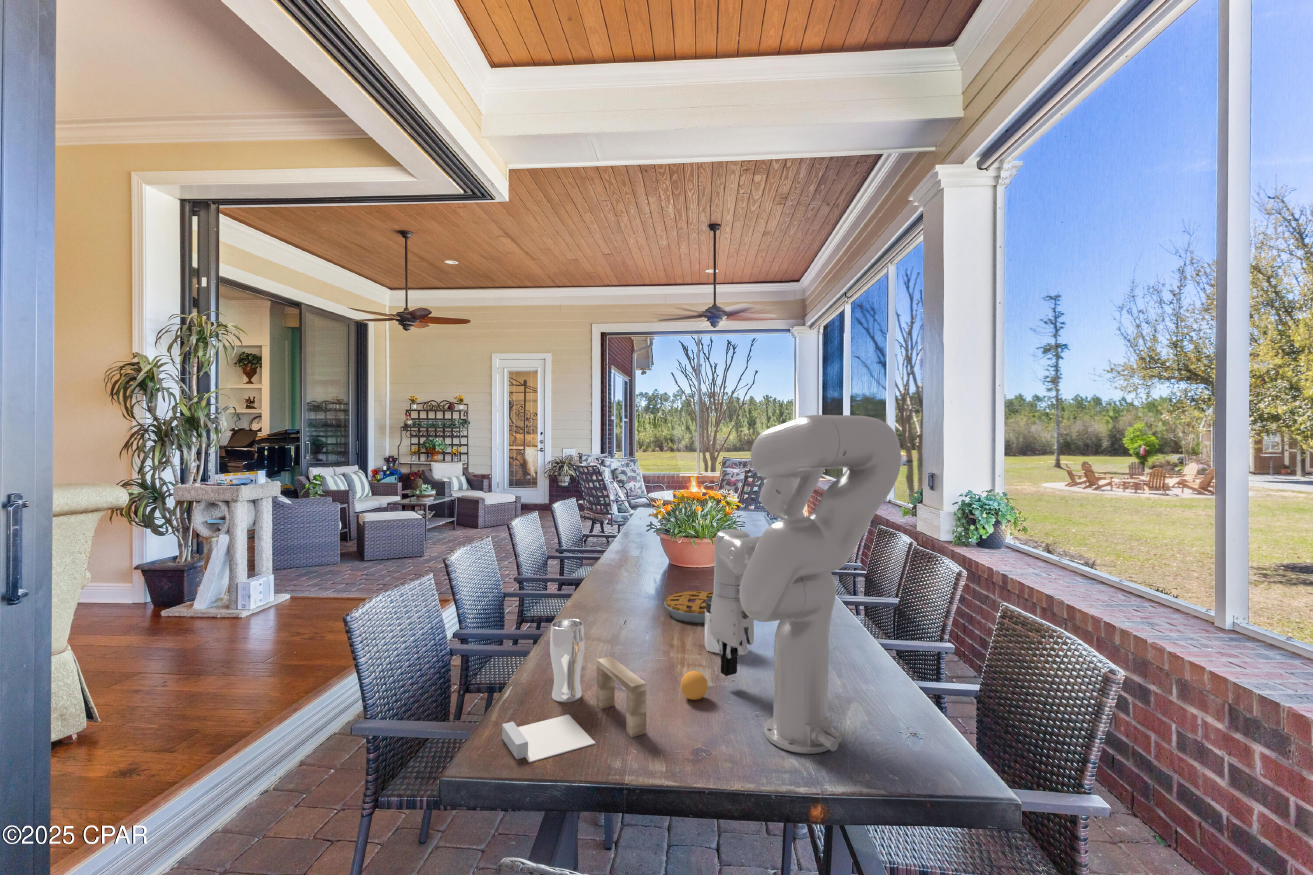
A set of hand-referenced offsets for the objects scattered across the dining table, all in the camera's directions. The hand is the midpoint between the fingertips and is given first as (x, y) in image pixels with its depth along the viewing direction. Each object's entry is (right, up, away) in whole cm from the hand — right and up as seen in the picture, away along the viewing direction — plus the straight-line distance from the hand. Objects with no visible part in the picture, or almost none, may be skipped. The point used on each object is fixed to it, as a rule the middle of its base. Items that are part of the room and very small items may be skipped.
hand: (728, 673), depth 131 cm
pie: (-2, -2, +51) cm, 51 cm away
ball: (-8, 0, -6) cm, 10 cm away
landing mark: (-34, -3, -22) cm, 41 cm away
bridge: (-22, -3, -14) cm, 27 cm away
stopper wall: (-40, -3, -25) cm, 47 cm away
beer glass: (-34, -3, -5) cm, 34 cm away
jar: (+1, -3, +23) cm, 23 cm away
